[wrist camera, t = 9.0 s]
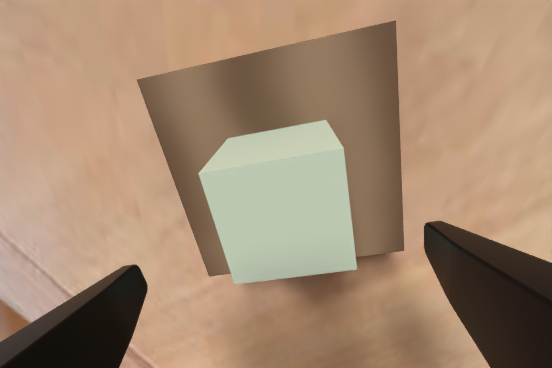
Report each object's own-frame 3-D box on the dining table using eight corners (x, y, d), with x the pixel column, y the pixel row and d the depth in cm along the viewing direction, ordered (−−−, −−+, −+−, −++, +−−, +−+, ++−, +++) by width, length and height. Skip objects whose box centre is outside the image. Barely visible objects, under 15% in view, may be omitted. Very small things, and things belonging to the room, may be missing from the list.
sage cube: (326, 119, 14) (343, 148, 9) (337, 209, 16) (357, 269, 11) (227, 138, 14) (198, 173, 10) (250, 222, 16) (234, 284, 12)
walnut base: (371, 30, 16) (395, 20, 12) (383, 216, 20) (404, 250, 17) (169, 76, 17) (136, 79, 14) (223, 240, 22) (209, 276, 18)
